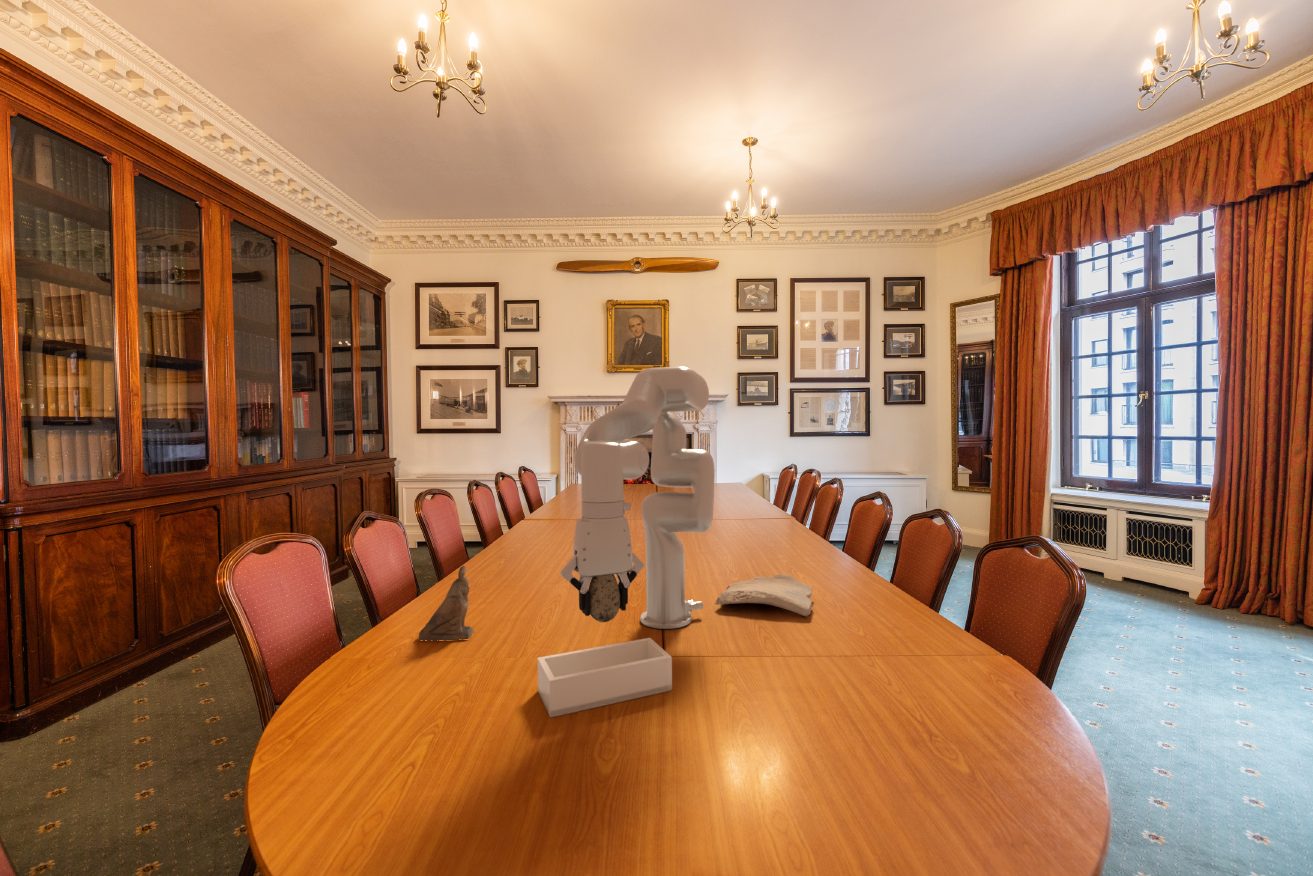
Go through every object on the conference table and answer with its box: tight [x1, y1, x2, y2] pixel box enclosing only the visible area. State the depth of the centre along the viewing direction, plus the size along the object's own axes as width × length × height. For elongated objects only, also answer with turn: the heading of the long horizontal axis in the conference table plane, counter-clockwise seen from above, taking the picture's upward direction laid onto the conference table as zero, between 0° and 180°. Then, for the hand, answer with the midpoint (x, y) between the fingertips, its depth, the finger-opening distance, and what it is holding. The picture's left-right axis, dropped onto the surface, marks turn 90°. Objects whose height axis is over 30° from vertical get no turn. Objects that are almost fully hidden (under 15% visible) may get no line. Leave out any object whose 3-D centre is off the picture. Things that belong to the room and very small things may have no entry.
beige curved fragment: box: [714, 573, 814, 617], centre depth 144 cm, size 24×8×20 cm
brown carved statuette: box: [418, 565, 475, 642], centre depth 123 cm, size 12×6×18 cm, turn 87°
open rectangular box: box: [537, 637, 673, 718], centre depth 96 cm, size 22×10×6 cm, turn 114°
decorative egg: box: [588, 574, 620, 623], centre depth 96 cm, size 6×6×10 cm
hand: (603, 610), depth 96 cm, fingers closed on decorative egg, 6 cm apart
